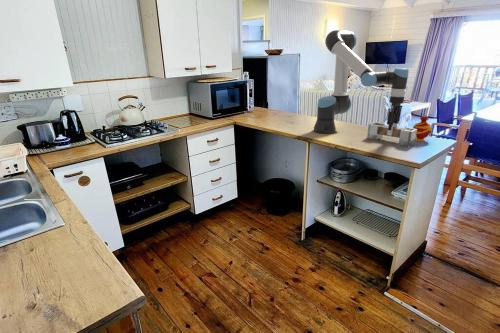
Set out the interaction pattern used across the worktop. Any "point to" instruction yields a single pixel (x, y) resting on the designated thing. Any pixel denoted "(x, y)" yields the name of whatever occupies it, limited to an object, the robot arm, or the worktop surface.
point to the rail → (396, 132)
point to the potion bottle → (422, 129)
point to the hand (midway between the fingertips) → (391, 134)
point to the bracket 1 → (374, 131)
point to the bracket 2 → (408, 137)
